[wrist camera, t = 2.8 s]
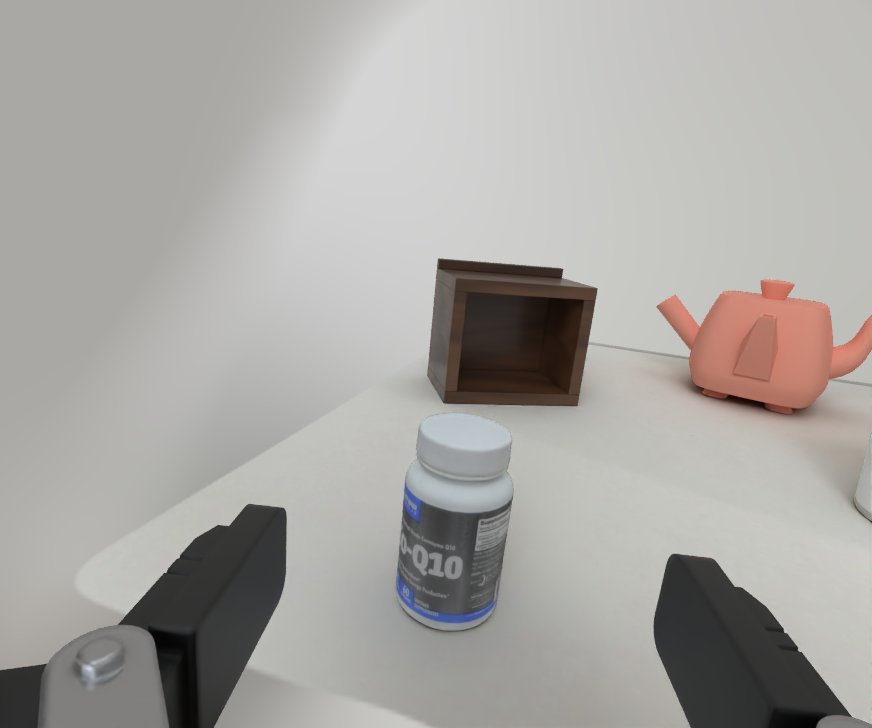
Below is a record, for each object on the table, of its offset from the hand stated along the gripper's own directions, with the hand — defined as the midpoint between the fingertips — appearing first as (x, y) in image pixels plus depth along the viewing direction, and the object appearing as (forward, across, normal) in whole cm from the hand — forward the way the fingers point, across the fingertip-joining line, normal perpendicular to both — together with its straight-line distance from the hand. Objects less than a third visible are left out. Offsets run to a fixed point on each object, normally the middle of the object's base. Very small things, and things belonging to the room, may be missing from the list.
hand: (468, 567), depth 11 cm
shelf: (+44, -4, +10) cm, 45 cm away
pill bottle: (+11, 0, +10) cm, 15 cm away
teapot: (+53, -35, +10) cm, 64 cm away
